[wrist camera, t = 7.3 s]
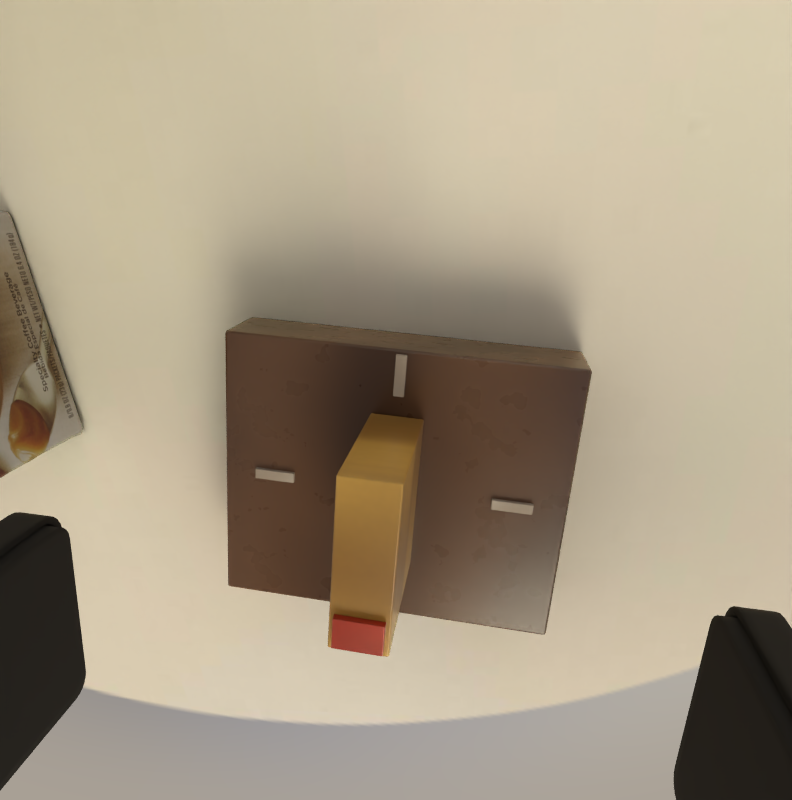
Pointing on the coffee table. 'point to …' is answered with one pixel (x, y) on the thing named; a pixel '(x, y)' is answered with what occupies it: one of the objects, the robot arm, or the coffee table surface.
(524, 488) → the panel
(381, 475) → the yellow slab
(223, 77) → the coffee table surface
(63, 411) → the coffee box
